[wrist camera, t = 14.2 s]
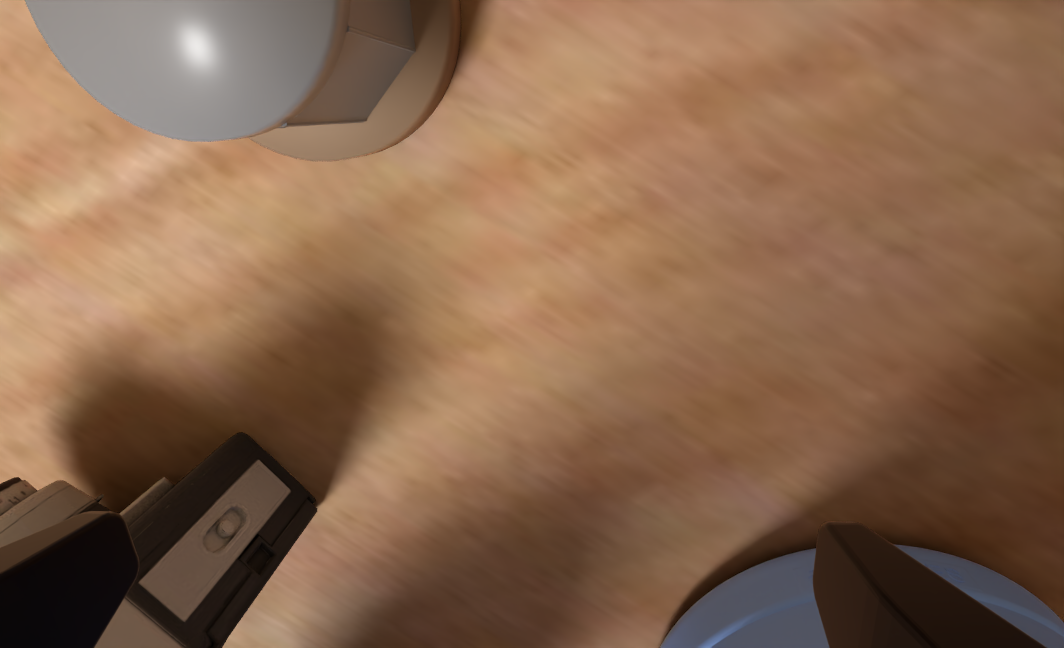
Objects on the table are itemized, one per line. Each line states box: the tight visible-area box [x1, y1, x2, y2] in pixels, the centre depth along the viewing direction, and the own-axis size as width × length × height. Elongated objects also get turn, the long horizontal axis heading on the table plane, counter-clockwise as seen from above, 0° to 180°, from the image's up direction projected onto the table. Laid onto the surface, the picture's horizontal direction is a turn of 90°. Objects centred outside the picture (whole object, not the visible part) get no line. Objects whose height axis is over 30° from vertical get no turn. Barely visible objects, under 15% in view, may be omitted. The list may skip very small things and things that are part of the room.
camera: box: [0, 433, 317, 648], centre depth 19 cm, size 14×8×10 cm, turn 131°
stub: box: [248, 0, 461, 161], centre depth 14 cm, size 8×8×5 cm
